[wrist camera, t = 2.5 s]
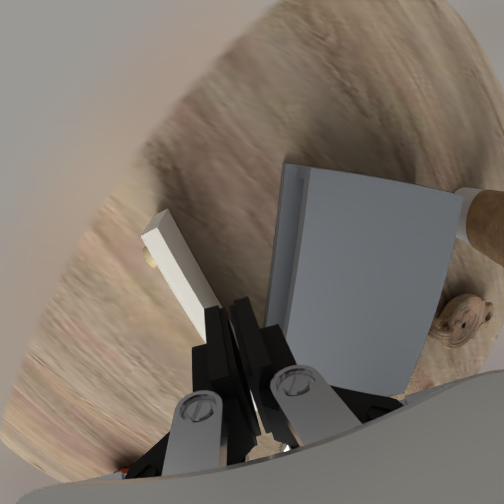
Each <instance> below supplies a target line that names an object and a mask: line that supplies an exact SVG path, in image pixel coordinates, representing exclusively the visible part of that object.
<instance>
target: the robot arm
mask: <svg viewBox="0 0 504 504" xmlns="http://www.w3.org/2000/svg"><path fill="white" fill-rule="evenodd" d="M234 303H235V304H234V305H231V306H229V307H230V312H231V316H232V321H233V326H234V330H235V335H236V339H237V343H236V340H235V337H234V333H233V330H232V327H231V324H230V321H229V318H228V315H227V312H226V309H225V307H223V308H219V306H218V305H216V306H213V307H209V308H205V309H204V319H205V334H206V344H203V345H199V346H195V347H193V348H192V382H193V393H191V394H188V395H186V396H185V397H184V398H182V399H181V400H180V402H179V403H178V404H177V406H176V408H175V411H174V416H173V421H172V426H171V431H170V432H168V433H167V434H166V435H165V436H164V437H163V438H162V439H161V440H160V441H159V442H158V443H157V444H156V445H154V446H153V447H152V448H151V449H150V450H149V451H148V452H147V453H146V454H145V455H143V456H142V457H141V458H140V459H139V460H138V461H137V462H136V463H134V464H133V465H132V466H131V468H130V469H129V470H128V472H127V473H126V474H123V473H122V472H121V471H120V472H117V473H113V474H109V475H105V476H101V477H97V478H92V479H88V480H83V481H79V482H67V483H59V484H53V485H48V486H44V487H41V488H38V489H34V490H32V491H30V492H28V493H26V494H24V495H23V496H22V497H21V498H20V499H19V500H18V501H17V503H16V504H504V370H494V371H489V372H484V373H480V374H475V375H472V376H470V377H467V378H464V379H458V380H455V381H452V382H449V383H446V384H443V385H440V386H436V387H433V388H430V389H427V390H423V391H420V392H416V393H413V394H409V395H406V396H405V399H404V400H400V401H398V400H396V399H393V398H390V397H385V396H380V395H375V394H369V393H364V392H359V391H354V390H350V389H345V388H340V387H336V386H331V385H329V384H328V383H327V382H326V380H325V379H324V378H323V377H322V376H321V374H320V373H319V372H318V371H317V370H316V369H314V368H313V367H310V366H308V365H297V363H296V361H295V359H294V356H293V354H292V352H291V350H290V348H289V345H288V343H287V341H286V339H285V337H284V335H283V332H282V330H281V328H280V326H279V324H275V325H272V326H268V327H265V328H262V329H259V327H258V324H257V321H256V318H255V316H254V313H253V310H252V307H251V304H250V301H249V298H248V297H245V298H241V299H238V300H234ZM237 344H238V346H237ZM238 348H239V349H238ZM251 393H252V395H251ZM252 396H253V399H254V402H255V405H256V407H257V410H258V413H259V415H260V418H261V421H262V424H263V426H264V429H265V432H266V434H267V433H270V432H272V434H273V437H274V440H276V441H279V442H281V443H283V445H282V448H281V453H278V454H274V455H270V456H267V457H263V458H259V459H255V460H251V461H250V460H249V456H248V453H249V452H250V451H251V449H252V448H253V447H254V446H256V445H258V444H257V440H256V436H259V435H261V431H260V427H259V423H258V419H257V416H256V412H255V408H254V404H253V399H252Z"/></svg>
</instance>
